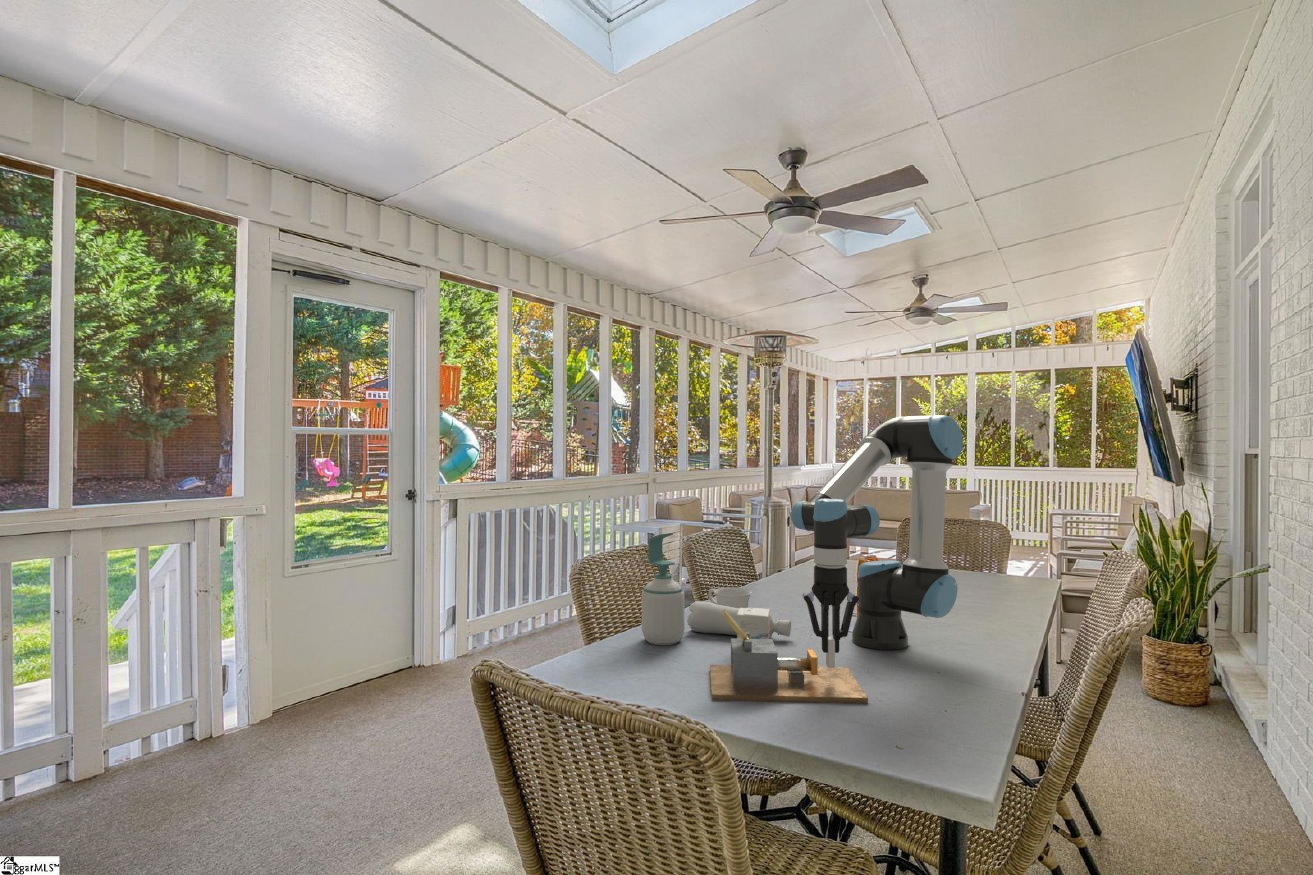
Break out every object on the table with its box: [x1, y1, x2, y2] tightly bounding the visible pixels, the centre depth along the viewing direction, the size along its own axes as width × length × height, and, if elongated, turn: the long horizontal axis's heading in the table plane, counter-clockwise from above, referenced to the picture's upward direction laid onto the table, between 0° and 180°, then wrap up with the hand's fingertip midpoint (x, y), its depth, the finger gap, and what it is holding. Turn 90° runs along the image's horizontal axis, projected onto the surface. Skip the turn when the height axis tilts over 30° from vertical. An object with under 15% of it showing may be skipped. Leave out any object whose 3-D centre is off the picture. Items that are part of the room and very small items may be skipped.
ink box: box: [736, 607, 771, 639], centre depth 180 cm, size 9×8×12 cm
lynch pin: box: [778, 649, 819, 675], centre depth 157 cm, size 13×6×4 cm, turn 87°
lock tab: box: [722, 609, 749, 641], centre depth 157 cm, size 9×4×1 cm
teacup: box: [707, 586, 753, 608], centre depth 213 cm, size 12×15×10 cm
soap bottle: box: [641, 532, 686, 646], centre depth 192 cm, size 12×12×31 cm
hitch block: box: [709, 632, 869, 704], centre depth 157 cm, size 34×20×11 cm, turn 87°
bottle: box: [686, 600, 792, 639], centre depth 198 cm, size 9×9×30 cm
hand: (830, 666), depth 156 cm, fingers closed
